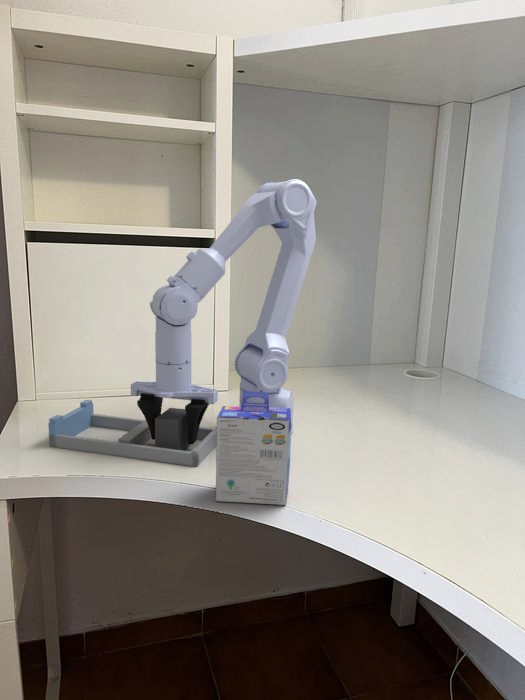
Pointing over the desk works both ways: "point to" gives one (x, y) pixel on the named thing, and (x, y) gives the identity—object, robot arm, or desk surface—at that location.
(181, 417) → the dark grey block
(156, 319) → the robot arm
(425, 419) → the desk surface
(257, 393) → the ink cartridge box
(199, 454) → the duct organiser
